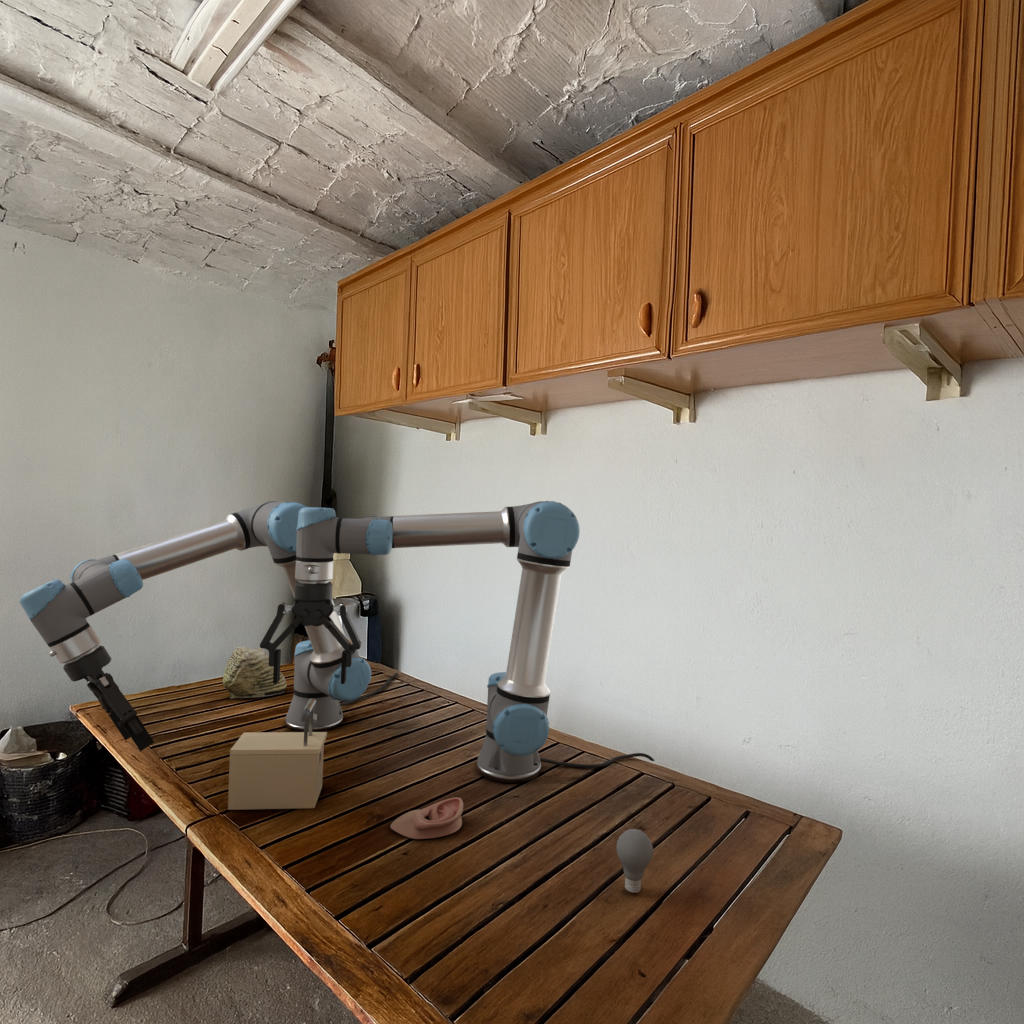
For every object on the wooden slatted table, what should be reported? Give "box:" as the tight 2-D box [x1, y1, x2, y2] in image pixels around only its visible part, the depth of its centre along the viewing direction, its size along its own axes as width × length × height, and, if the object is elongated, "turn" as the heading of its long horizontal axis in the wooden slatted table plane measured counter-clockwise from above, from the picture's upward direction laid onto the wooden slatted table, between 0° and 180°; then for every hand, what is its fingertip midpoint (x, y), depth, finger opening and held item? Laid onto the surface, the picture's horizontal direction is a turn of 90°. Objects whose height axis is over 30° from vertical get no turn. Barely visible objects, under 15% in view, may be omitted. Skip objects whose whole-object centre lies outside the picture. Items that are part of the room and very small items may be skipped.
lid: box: [229, 698, 328, 756], centre depth 132 cm, size 17×10×9 cm, turn 98°
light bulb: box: [615, 828, 654, 894], centre depth 106 cm, size 6×6×10 cm
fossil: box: [222, 646, 288, 699], centre depth 198 cm, size 9×18×15 cm, turn 132°
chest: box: [227, 744, 325, 811], centre depth 132 cm, size 17×10×11 cm, turn 98°
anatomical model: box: [390, 797, 464, 840], centre depth 124 cm, size 13×4×12 cm
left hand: (139, 741), depth 130 cm, fingers open, 13 cm apart
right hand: (310, 682), depth 133 cm, fingers open, 13 cm apart
